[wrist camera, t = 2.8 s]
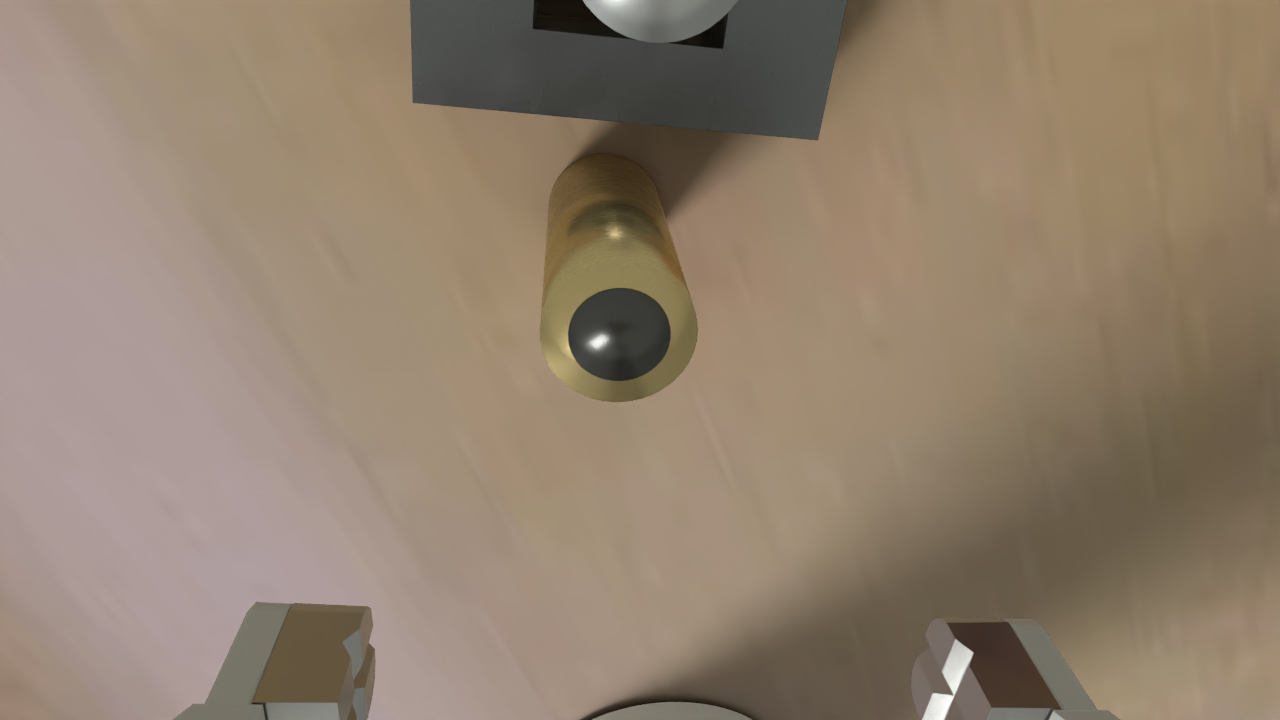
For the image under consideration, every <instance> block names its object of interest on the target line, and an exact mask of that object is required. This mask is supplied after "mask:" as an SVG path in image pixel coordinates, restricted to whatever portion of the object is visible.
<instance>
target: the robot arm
mask: <svg viewBox="0 0 1280 720" xmlns="http://www.w3.org/2000/svg"><path fill="white" fill-rule="evenodd" d="M372 628H373V621H372V612H371V608H370V607H368V606H346V605H324V604H302V603H294V604H288V603H265V602H256V603H255V604H254V605H253V606H252V607H251V608H250V609H249V610H248V612H247V614H246V616H245V618H244V620H243V622H242V624H241V627H240V629H239V631H238V633H237V635H236V637H235V640H234V642H233V644H232V646H231V648H230V650H229V653H228V655H227V657H226V659H225V661H224V663H223V666H222V668H221V670H220V672H219V674H218V676H217V679H216V681H215V683H214V685H213V687H212V689H211V692H210V694H209V696H208V698H207V700H206V702H205V704H192V705H191V706H190V707H188V708H187V709H186V710H185V711H183V712H182V713H181V714H179V715H178V716H177V717H175V718H174V719H173V720H367V718H368V714H369V710H370V705H371V701H372V695H373V688H374V681H375V649H374V648H373V647H372V646H371V645H370V644H369V639H370V635H371V632H372ZM925 637H926V639H927V641H928V643H929V646H930V647H929V648H928V649H926V650H925V651H924V652H922V653H921V654H920V655H918V656H917V657H916V660H915V663H914V666H913V669H912V673H911V693H912V697H913V701H914V706H915V709H916V711H917V714H918V716H919V718H920V720H1120V719H1119V718H1118V717H1116V716H1115V715H1113V714H1112V713H1110V712H1109V711H1103V710H1098V709H1097V708H1096V706H1095V705H1094V703H1093V702H1092V700H1091V699H1090V697H1089V696H1088V694H1087V693H1086V691H1085V690H1084V688H1083V687H1082V685H1081V684H1080V682H1079V681H1078V679H1077V678H1076V676H1075V675H1074V673H1073V672H1072V670H1071V669H1070V667H1069V666H1068V664H1067V662H1066V661H1065V659H1064V658H1063V656H1062V655H1061V653H1060V652H1059V650H1058V649H1057V647H1056V646H1055V644H1054V643H1053V641H1052V640H1051V638H1050V637H1049V635H1048V634H1047V632H1046V631H1045V629H1044V628H1043V626H1042V625H1041V624H1040V623H1038V622H1037V621H1036V620H1034V619H1012V618H1001V619H997V618H936V619H934V620H933V621H932V622H931V623H930V624H929V627H928V629H927V632H926V634H925ZM592 720H752V719H750V718H748V717H746V716H744V715H742V714H739V713H737V712H734V711H731V710H728V709H725V708H721V707H717V706H712V705H707V704H700V703H690V702H662V703H651V704H643V705H637V706H632V707H628V708H624V709H620V710H616V711H613V712H610V713H607V714H604V715H602V716H599V717H597V718H594V719H592Z"/></svg>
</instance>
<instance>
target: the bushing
mask: <svg viewBox="0 0 1280 720" xmlns="http://www.w3.org/2000/svg"><path fill="white" fill-rule="evenodd" d="M697 333H698V327H697V318H696V313H695V310H694V307H693V304H692V300H691V297H690V294H689V291H688V288H687V285H686V281H685V278H684V275H683V272H682V269H681V266H680V262H679V259H678V256H677V253H676V250H675V246H674V243H673V240H672V237H671V234H670V231H669V227H668V224H667V221H666V218H665V215H664V212H663V208H662V205H661V202H660V199H659V196H658V193H657V190H656V187H655V185H654V183H653V181H652V179H651V178H650V177H649V175H648V174H647V173H646V172H645V171H644V170H643V169H642V168H641V167H640V166H639V165H637V164H636V163H634V162H633V161H631V160H629V159H627V158H624V157H621V156H618V155H612V154H597V155H592V156H588V157H585V158H582V159H580V160H578V161H576V162H574V163H573V164H572V165H570V166H569V167H568V168H567V169H565V170H564V171H563V172H562V174H561V175H560V176H559V177H558V179H557V181H556V182H555V184H554V186H553V189H552V191H551V195H550V200H549V211H548V225H547V239H546V254H545V268H544V282H543V297H542V311H541V325H540V340H541V346H542V350H543V353H544V356H545V359H546V361H547V363H548V365H549V366H550V368H551V369H552V371H553V372H554V374H555V375H556V376H557V377H558V378H559V379H560V380H561V381H562V382H563V383H564V384H566V385H567V386H568V387H570V388H571V389H573V390H574V391H576V392H578V393H580V394H582V395H584V396H587V397H590V398H593V399H597V400H601V401H609V402H625V401H633V400H637V399H641V398H644V397H647V396H650V395H652V394H654V393H656V392H658V391H660V390H662V389H663V388H665V387H666V386H668V385H669V384H670V383H672V382H673V381H674V380H675V379H676V378H677V377H678V376H679V375H680V374H681V373H682V372H683V370H684V369H685V367H686V366H687V365H688V363H689V361H690V359H691V357H692V355H693V352H694V349H695V346H696V342H697Z"/></svg>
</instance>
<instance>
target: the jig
mask: <svg viewBox="0 0 1280 720" xmlns="http://www.w3.org/2000/svg"><path fill="white" fill-rule="evenodd" d="M583 2H584V3H585V4H586V6H587V7H588V8H589V9H590V10H591V12H592V13H593V14H594V15H595V16H596V17H597V18H598V19H600V20H594V19H584V18H575V17H566V16H556V15H547V14H538V0H410V7H411V48H412V88H413V103H421V104H432V105H443V106H454V107H465V108H475V109H486V110H497V111H508V112H518V113H529V114H540V115H551V116H562V117H572V118H583V119H594V120H605V121H616V122H626V123H637V124H648V125H659V126H669V127H680V128H691V129H702V130H713V131H723V132H734V133H745V134H756V135H767V136H777V137H788V138H799V139H810V140H818V137H819V133H820V128H821V123H822V118H823V113H824V109H825V104H826V99H827V94H828V90H829V85H830V80H831V75H832V71H833V66H834V61H835V56H836V52H837V47H838V42H839V37H840V33H841V28H842V23H843V18H844V13H845V9H846V4H847V0H583Z"/></svg>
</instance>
